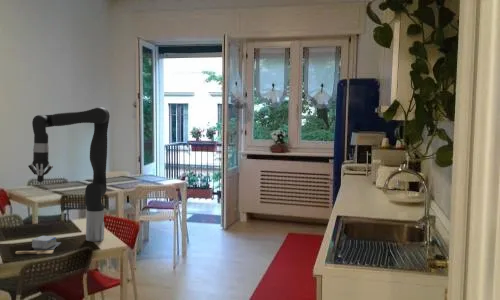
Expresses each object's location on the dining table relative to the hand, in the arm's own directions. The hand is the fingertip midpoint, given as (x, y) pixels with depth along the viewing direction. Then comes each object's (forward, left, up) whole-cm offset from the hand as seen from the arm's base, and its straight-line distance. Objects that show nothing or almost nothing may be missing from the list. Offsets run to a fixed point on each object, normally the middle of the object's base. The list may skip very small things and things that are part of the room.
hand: (40, 182), depth 236 cm
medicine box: (-4, +15, -29) cm, 33 cm away
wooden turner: (-8, +25, -32) cm, 41 cm away
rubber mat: (-9, +14, -32) cm, 36 cm away
